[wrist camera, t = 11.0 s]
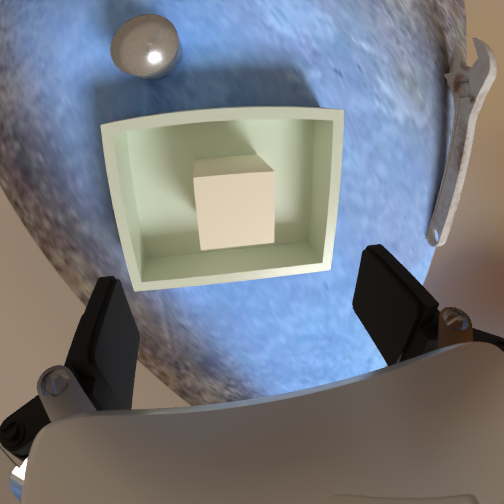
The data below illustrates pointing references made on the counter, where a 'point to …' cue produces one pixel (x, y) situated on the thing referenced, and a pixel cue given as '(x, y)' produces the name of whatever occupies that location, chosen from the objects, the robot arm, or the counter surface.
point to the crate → (183, 197)
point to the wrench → (461, 130)
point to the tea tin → (147, 47)
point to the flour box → (234, 201)
